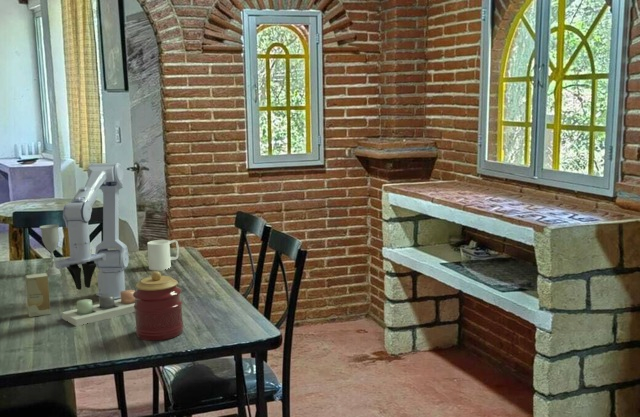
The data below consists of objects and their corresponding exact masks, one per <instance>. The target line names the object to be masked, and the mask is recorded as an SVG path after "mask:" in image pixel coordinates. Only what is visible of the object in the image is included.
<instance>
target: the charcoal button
mask: <svg viewBox="0 0 640 417" xmlns="http://www.w3.org/2000/svg"><path fill="white" fill-rule="evenodd" d="M114 300H115V299H114V295H111V294H108V295H102V296H100V297H99V296H98V302H99V303H98V304H100V308H101V309H109V308H113V307H115V302H114Z"/></svg>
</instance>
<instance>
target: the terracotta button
mask: <svg viewBox="0 0 640 417" xmlns="http://www.w3.org/2000/svg"><path fill="white" fill-rule="evenodd" d="M135 291H136V290H134V289H125V290H124V291H121V292H120V293H121V298H120V299H121V303H123V304H130V303H134V302H135V297H134V296H133V293H134V292H135Z"/></svg>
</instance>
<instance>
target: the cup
mask: <svg viewBox="0 0 640 417" xmlns="http://www.w3.org/2000/svg"><path fill="white" fill-rule="evenodd" d="M173 243H175V245H176V256H171V247H170V245H171V244H173ZM147 256H148V257H147V258H148V269H149V270H150V271H154V272H155V271H158V272H159V271H166V270H168V268H169V269H171V268H172V264H171V262H172V261H175V260H178V258H179V256H180V246H179V242H178V240H175V239H174V240H167V239H157V240H156V239H155V240H154V239H153V240H151V241H148V242H147ZM170 267H171V268H170ZM165 269H166V270H165Z"/></svg>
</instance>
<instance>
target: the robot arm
mask: <svg viewBox="0 0 640 417" xmlns="http://www.w3.org/2000/svg"><path fill="white" fill-rule="evenodd" d="M122 188H124V169H123V166H122V164H121V163H120V162H105V163H104V162H103V163H94V162H92V163H90V164H89V165H88V166H87V180H86V182H85V185H84V186H82V187H80V188H79V189H78V191H77V192H76V193H75V195H74V197H73V198H72V201H71V202H67V204H65V205H64V206H63V209H62V219H63V221H64V224H65V228H66V229H67V234H68V245H69V256H70V257H69V258H65V259H61V260H55V261H54V265H55V267H56V268H57V269H59V270H61V269H63V268H66V269H67V270H68V272H69V274H70V275H71V278H72V279H73V282H74V285H75V288H76V290H80V291H81V290H82V278H81V277H82V271H83V280H84V282H83V283H84V284H83V285H84V287H85V288H86V289H89V288H91V285H92V284H91V282H92V277H93V274H94V272H95V270H96V269H97V270H98V271H99V272H98V273H97V276H96V277H97V289H98V292H97V293H96V294H95V295H96V296H97V297H98V298H99V297H100V296H102V295H108V294H111V295H114V300H118V299H121V293H120V292H121V291H124V290H126V278H125V269H127V267H128V265H129V262H130V254H129V250H128V246H127V244H125V243H124V242H123V241H121V240H120V239H119V238H120V236H119V235H120V234H119V230H120V225H119V224H120V220H119V219H120V218H119V217H120V215H119V213H120V212H119V210H120V207H119V206H120V205H119V204H120V200H119V198H120V196H119V195H120V190H121V189H122ZM98 190H100V191H101V192H102V195H103V196H102V198H103V200H102V202H103V203H102V209H103V210H102V213H103V214H102V220H103V221H102V223H103V224H102V228H103V229H102V238H103V239H102V241H101V242H100V243H98V245H96V246H95V253H93V254H92V252H91V243H90V231H89V229H90V227H89V221H90V220H91V217H92V216H91V215H92V212H93V208H92V207H93V205H95V202H96V200H97V198H98V195H97V192H98ZM80 265H81V266H82V267H80Z"/></svg>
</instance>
